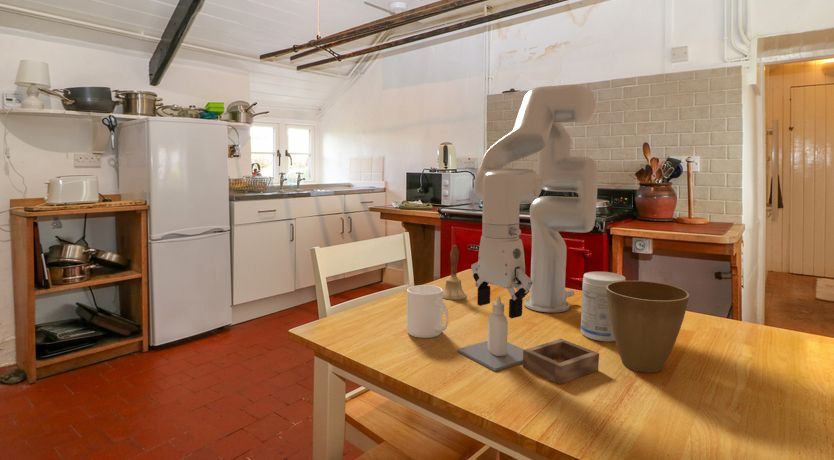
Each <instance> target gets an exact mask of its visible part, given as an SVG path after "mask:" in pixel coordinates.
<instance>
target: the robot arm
mask: <svg viewBox="0 0 834 460" xmlns="http://www.w3.org/2000/svg"><path fill="white" fill-rule="evenodd" d="M595 99H596V98H595V95H594V93H593V91H592V90H591V89H590V88H589V87H588V86H583V85H579V84H562V85H561V84H560V85H559V84H558V85H547V86H545V85H544V86H538V87H537V86H536V87H535V88H532V89H530V90H528V91H527V92H526V93H525V95H524V96H523V99H522V102H521V104H520V107H519V111H518V112H517V116H516V119H515V121H514V124H513V128H512V130H511V131H510V132H509V133H507V134H506V135H504V136H502V138H500V139H499V140H497V141H496V142H495V143H494V144H493V145H491V146H490V147H489V148H488V149H487V150H486V152H485V153H484V155H483V157H482V159H481V161H480V163H479V167H478V170H477V173H476V175H475V181H474V192H475V194H476V197H477V198H478V199H479V200H481V201H482V216H481V217H482V220H481V221H482V223H481V224H482V227H481V228H482V229H481V230H482V231H481V232H482V233H481V236H480V242H479V248H478V259H477V260H478V261H477V262H475V263H472V264H471V266H470V267H471V272H472V274H473V275H472V276H473V277H472V278H473V279H474V281H475V287H476V288H477V302H476V303H477V306H479V307H481V306H485V305H489V304H491V286H490V285H489V284H491V285H493V286H496V287H499V288H503V289H507V291H508V293H509V295H510V297H511V298H510V299H509V300H508V317H509V318H510V319H515V318H516V319H517V318H519V317H522V316H523V304H524V306H525V307H526V308H527V309H528V310H532V311H535V312H539V313H540V312H542V313H553V314H554V313H556V314H557V313H562V312H567V311H569V310H570V302H568V301H567V299H568V298H571V297H574V296H575V291H574V290H573V289H569V290H566V274H567V273H566V268H567V244H566V241H565V239H564V238H563V237H562V235H561V233H560V232H568V233H569V232H570V233H580V234H581V233H582V234H583V233H589V232H591V231H592V230H593V229H594V227H595V224H596V219H597V218H596V216H597V203H598V202H597V200H598V186H599V185H598V184H599V170H598V165H597V162H596V161H595V160H594V159H593V158H592V157H589V156H571V144H572V143H571V142H572V140H571V136H570V133H569V132H568V130H566V128H565V126H563V124H561V123H583V122H587V121H589V120H590V119H591V118H592V117H593V114H594V111H595V105H596V103H595V102H596V101H595ZM536 153H537V171H535V170H533V169H530V168H529V169H528V168H504V167H506V166H507V165H508V164H511V163H514V162H515V161H518V160H521V159H524V158H526V157H529V156H532V155H534V154H536ZM543 190H544V191H546V192H547V191H548V192H561V193H562V192H563V193H565V192H566V193H567V192H569V193H576V194H577V195H578V197H575V196H573V197H572V196H561V195H560V196H554V195H544V196H540V195H541V192H542V191H543ZM528 204H530V207H529V219H530V227H531V254H530V255H531V257H530V259H531V260H530V276H528V275H527V274H526V263H525V261H526V260H525V250H524V244H523V240H522V239H521V238H520V236H521V234H522V230H521V229H520V211H521V210H520V209H521V208H520V206H521V205H528ZM515 289H516V290H515ZM528 293H529V297H527V298H526V296H527V295H528Z"/></svg>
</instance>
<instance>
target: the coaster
mask: <svg viewBox="0 0 834 460" xmlns="http://www.w3.org/2000/svg"><path fill="white" fill-rule="evenodd" d="M523 350H525V349H524V348H522V347H520V346H517V345H515V344H513V343H510V342H508V341H507V355H506V356H495V355H493V354H492V353H490V352H489V350H488V340H486V341H485V340H484V341H482V342H478V343H474V344H471V345H466V346H463V347H460V348H457V349H456V352H457V353H460V354H461V355H463V356H464V357H467V358H469V359H471V360H473V361H475V363H478V364H480V365H481V366H484V367H486V368H488V369H490V370H491V371H494V372H498V371H501V370H504V369H507V368H510V367H514V366H517V365H521V364H523Z"/></svg>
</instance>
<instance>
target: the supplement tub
mask: <svg viewBox="0 0 834 460" xmlns="http://www.w3.org/2000/svg"><path fill="white" fill-rule="evenodd" d="M617 281H627V280H626V277H625V276H624V275H623V274H620V273H616V272H612V271H611V272H610V271H588V272H585V273H584V274H583V279H582V287H581V288H582V290H581V314H580V333H581V334H582V335H583V336H584V337H586V338H588V339H591V340H593V341H599V342H607V343H611V342H616V341H615V338H614V334H613V330H612V325H611V320H610V315H609V308H608V300H607V290H606V286H607V285H608V284H610V283H612V282H617Z"/></svg>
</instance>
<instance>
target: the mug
mask: <svg viewBox="0 0 834 460" xmlns="http://www.w3.org/2000/svg"><path fill="white" fill-rule="evenodd" d="M443 290H444V288H442V287H440V286H438V285H429V284H419V285H412V286H409V287H408V288H406V329H407V330H406V331H407V333H408V335H410V336H412V337H414V338H419V339H429V338H430V339H431V338H432V339H433V338H435V337H438V336H440V335H441V334H442V332H445V330H446V329H447V327H448V326H449V311H448V308H447V305H446V303H444V300H443V299H444V298H443ZM443 312H444V315H445V317H446V321H445V324H444V325H443Z"/></svg>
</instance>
